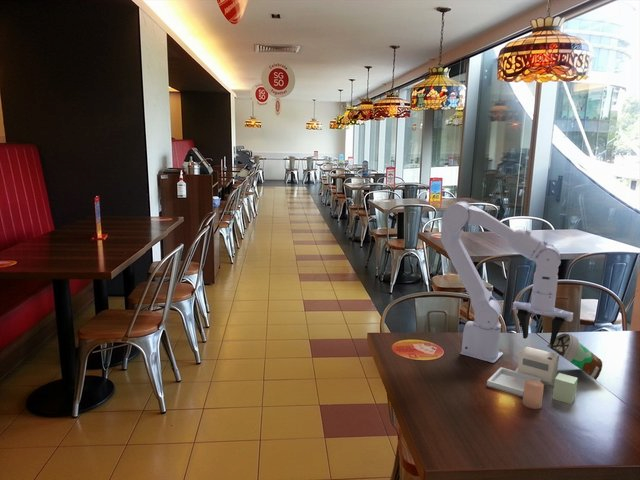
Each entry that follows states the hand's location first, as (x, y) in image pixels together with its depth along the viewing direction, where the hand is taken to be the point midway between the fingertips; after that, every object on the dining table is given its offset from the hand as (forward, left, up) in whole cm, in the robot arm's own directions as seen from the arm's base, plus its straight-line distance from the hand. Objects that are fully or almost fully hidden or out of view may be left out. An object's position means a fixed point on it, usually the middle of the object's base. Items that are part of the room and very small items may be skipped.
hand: (538, 340), depth 131 cm
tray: (-1, -16, -7) cm, 17 cm away
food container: (+14, +3, -4) cm, 14 cm away
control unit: (+2, -7, -7) cm, 10 cm away
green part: (+10, -15, -7) cm, 19 cm away
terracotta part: (+5, -23, -7) cm, 25 cm away
